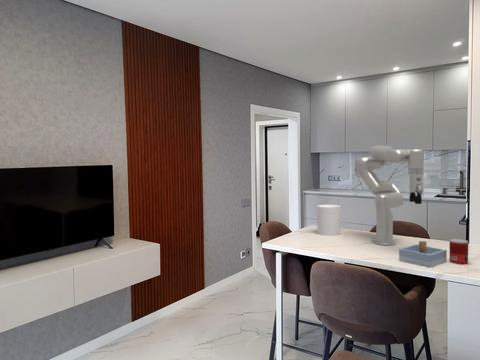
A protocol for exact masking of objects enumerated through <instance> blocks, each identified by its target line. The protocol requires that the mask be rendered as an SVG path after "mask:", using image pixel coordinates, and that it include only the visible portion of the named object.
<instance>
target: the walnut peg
mask: <svg viewBox="0 0 480 360" xmlns="http://www.w3.org/2000/svg"><path fill="white" fill-rule="evenodd" d="M418 245H419V252H420V253H425V254H426V246H427V241H425V240H418Z"/></svg>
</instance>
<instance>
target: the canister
mask: <svg viewBox="0 0 480 360" xmlns="http://www.w3.org/2000/svg"><path fill="white" fill-rule="evenodd" d="M316 208H317V209H316V211H317V219H316V220H317V222H316V223H317V226H316V227H317V231H316V232H317V234H318V235H319V234H320V236H326V237H331V236H332V237H334V236H339V235H341V205H339V204H318V205H317V206H316Z"/></svg>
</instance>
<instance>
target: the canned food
mask: <svg viewBox="0 0 480 360" xmlns="http://www.w3.org/2000/svg"><path fill="white" fill-rule="evenodd" d="M449 262H450V263H453V264H457V265H466V264H468V263H469V241H468V240H465V239H459V238H451V239H449Z"/></svg>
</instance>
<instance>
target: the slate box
mask: <svg viewBox="0 0 480 360" xmlns="http://www.w3.org/2000/svg"><path fill="white" fill-rule="evenodd" d="M447 255H448V254H447V249H443V248H437V247H431V246H427V245H426V254H425V253H420V252H419V244H413V245H412V244H411V245H409V246H404V247H402V248H399V249H398V261H400V262H405V263H408V264H412V265H417V266H420V267H426V268H433V267H435V266H438V265H440V264H444V263H446V262H447Z"/></svg>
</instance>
